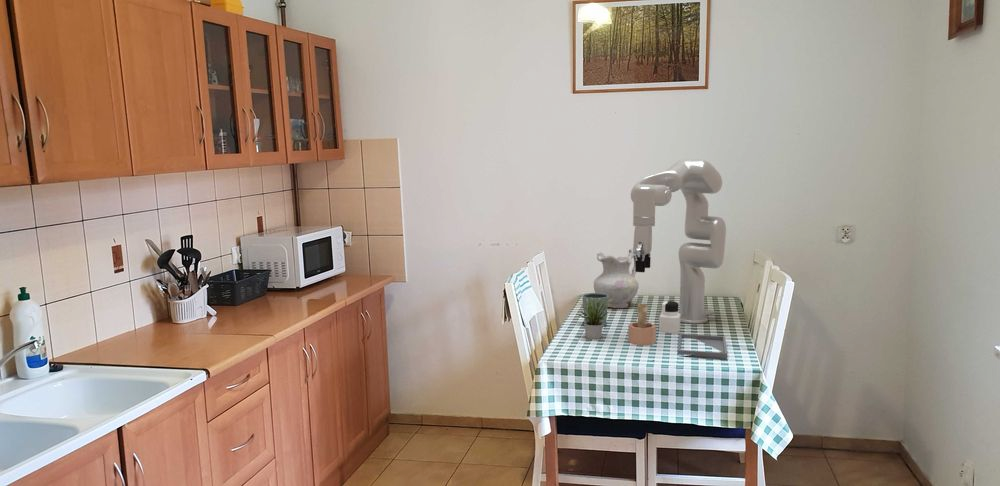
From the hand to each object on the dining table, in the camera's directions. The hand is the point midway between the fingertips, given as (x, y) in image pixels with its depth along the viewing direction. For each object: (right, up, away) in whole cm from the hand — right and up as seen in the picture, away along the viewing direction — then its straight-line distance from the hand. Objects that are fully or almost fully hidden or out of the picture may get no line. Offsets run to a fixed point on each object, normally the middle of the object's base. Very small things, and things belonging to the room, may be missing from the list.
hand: (642, 269), depth 256 cm
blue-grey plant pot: (-13, -23, +32) cm, 42 cm away
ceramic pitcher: (+2, -18, +66) cm, 69 cm away
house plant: (-15, -26, +10) cm, 32 cm away
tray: (+20, -28, -3) cm, 34 cm away
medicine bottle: (+14, -25, +19) cm, 34 cm away
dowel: (0, -26, +4) cm, 26 cm away
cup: (0, -27, +4) cm, 27 cm away
